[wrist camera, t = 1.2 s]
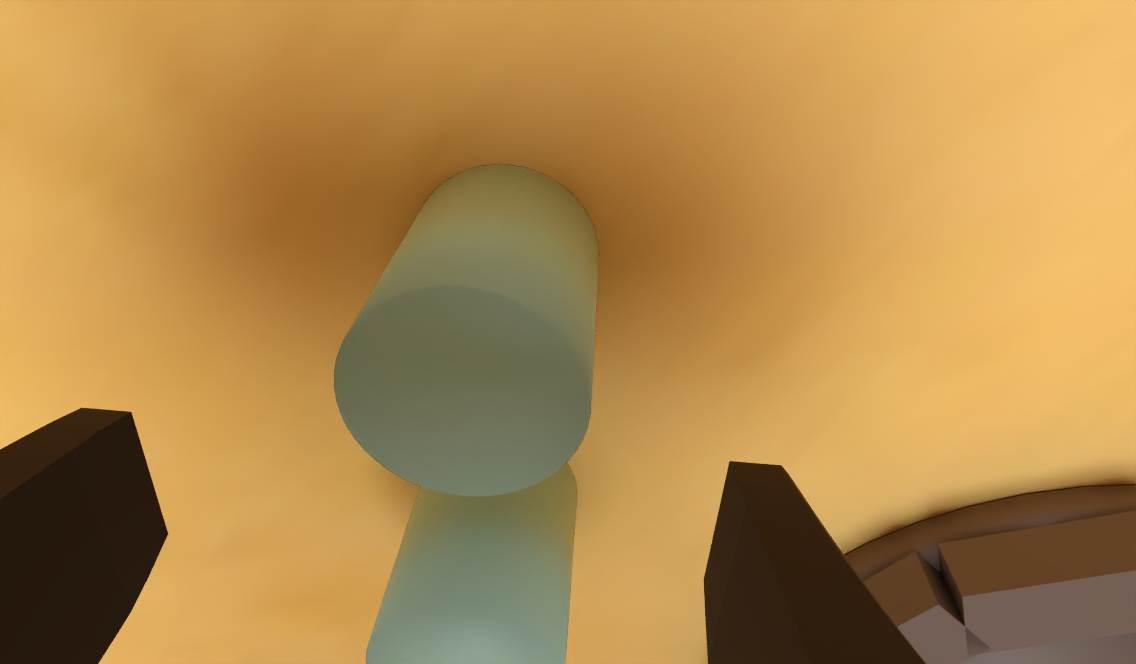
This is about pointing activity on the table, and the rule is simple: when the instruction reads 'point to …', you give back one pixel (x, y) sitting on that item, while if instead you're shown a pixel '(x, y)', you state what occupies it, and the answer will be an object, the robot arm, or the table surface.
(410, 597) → the bead
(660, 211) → the table surface
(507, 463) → the grey green cylinder
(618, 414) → the table surface
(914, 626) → the ring tray
